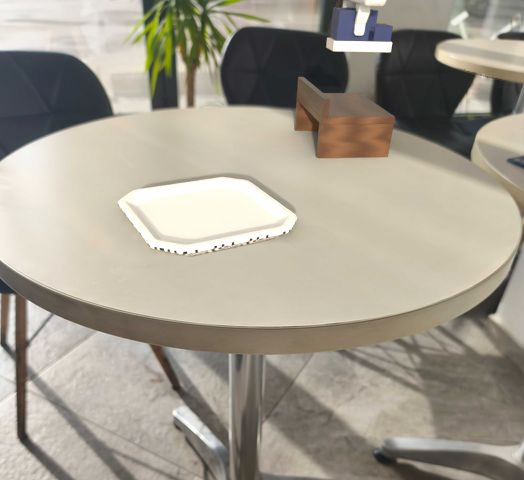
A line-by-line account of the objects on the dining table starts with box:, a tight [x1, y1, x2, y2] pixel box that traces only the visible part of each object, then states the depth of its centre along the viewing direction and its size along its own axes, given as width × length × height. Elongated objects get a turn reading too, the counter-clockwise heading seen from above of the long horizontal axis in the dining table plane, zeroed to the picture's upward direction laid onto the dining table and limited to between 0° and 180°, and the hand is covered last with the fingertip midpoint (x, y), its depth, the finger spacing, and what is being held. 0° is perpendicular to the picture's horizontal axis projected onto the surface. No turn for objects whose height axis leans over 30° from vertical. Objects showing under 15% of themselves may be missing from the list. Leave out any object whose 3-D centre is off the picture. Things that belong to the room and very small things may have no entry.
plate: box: [117, 176, 298, 257], centre depth 68 cm, size 21×21×2 cm
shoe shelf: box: [293, 76, 396, 159], centre depth 99 cm, size 14×20×10 cm
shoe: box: [325, 6, 394, 53], centre depth 89 cm, size 11×5×6 cm, turn 100°
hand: (352, 33), depth 89 cm, fingers closed on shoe, 4 cm apart
